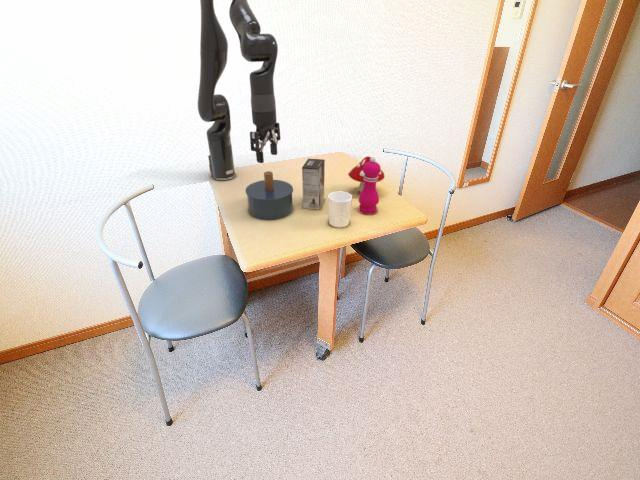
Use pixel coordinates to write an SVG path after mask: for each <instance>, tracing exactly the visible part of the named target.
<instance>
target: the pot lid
mask: <svg viewBox="0 0 640 480" xmlns="http://www.w3.org/2000/svg"><path fill="white" fill-rule="evenodd" d="M293 192H294V187H293V185H292V184H291V183H289V182H288V181H284V180H280V179H274V173H273V172H272V171H268V170H267V171H264V172H263V180H257V181H255V182H252V183H250V184H249V185H247V186H246V188H245V194H246V197H247V196H248V197H250V198H252V199H255V200H259V201H275V200H280V199H283V198H286V197H288V196H290V195H291V194H292V195H293Z"/></svg>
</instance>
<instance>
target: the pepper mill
mask: <svg viewBox="0 0 640 480" xmlns="http://www.w3.org/2000/svg"><path fill="white" fill-rule="evenodd" d="M381 170H382V167H381V165H380V164H379V162H377V161H376V158H375V157H373V156H372V157H371V158H370V161H369V162H367V163H365V164H364V166H363V172H364V174H365V175H364V180H365V184H364V188H363V190H362V192H359V196H358V203H359V206H358V207H359V208H358V211H359V212H360V213H362V214H364V215H373V214H376V213H377V209H378V206H377V205H378V204H379V202H380V195H379V192H378V190H377V183H378V182H377V181H378V174H379V173H380V171H381Z"/></svg>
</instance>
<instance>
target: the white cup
mask: <svg viewBox="0 0 640 480" xmlns="http://www.w3.org/2000/svg"><path fill="white" fill-rule="evenodd" d="M352 202H353V195H352V194H351V193H350V192H347V191H341V190H338V191H337V190H336V191H332V192H330V193H329V194H328V196H327V207H328V208H327V209H328V223H329V224H330V226H332V227H334V228H345V227H347V226H348V225H349V224H350V217H351V211H352Z"/></svg>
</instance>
